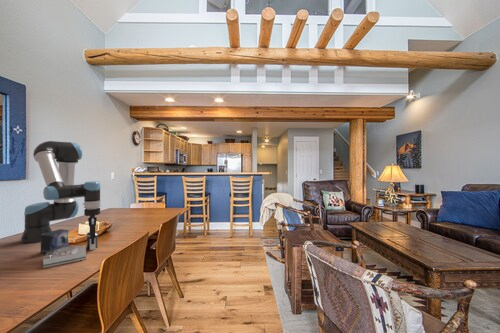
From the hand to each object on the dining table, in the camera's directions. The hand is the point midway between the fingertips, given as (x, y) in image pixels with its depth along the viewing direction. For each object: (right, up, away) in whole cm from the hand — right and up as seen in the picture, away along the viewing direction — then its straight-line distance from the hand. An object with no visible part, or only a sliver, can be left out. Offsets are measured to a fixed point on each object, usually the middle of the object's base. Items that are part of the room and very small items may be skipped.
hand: (92, 247), depth 126 cm
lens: (0, 0, 0) cm, 0 cm away
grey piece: (-2, 0, -15) cm, 16 cm away
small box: (-19, 0, -3) cm, 19 cm away
